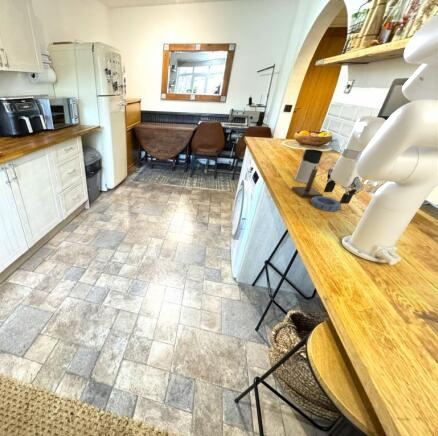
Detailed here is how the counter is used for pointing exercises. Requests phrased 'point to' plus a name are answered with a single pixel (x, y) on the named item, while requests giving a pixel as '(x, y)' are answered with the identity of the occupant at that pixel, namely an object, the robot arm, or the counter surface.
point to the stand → (308, 188)
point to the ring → (318, 203)
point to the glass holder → (309, 164)
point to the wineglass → (371, 185)
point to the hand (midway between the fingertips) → (335, 197)
